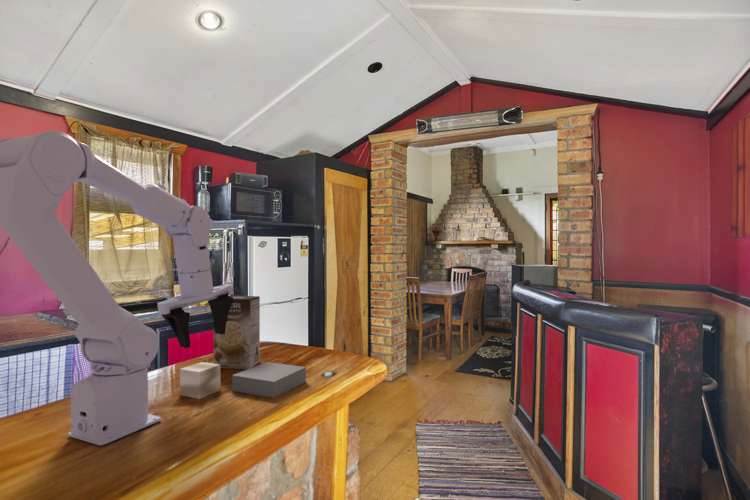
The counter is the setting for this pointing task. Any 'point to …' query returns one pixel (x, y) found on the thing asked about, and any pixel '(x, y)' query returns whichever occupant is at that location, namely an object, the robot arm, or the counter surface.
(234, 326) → the coffee box
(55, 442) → the counter surface
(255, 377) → the base
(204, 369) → the cube
